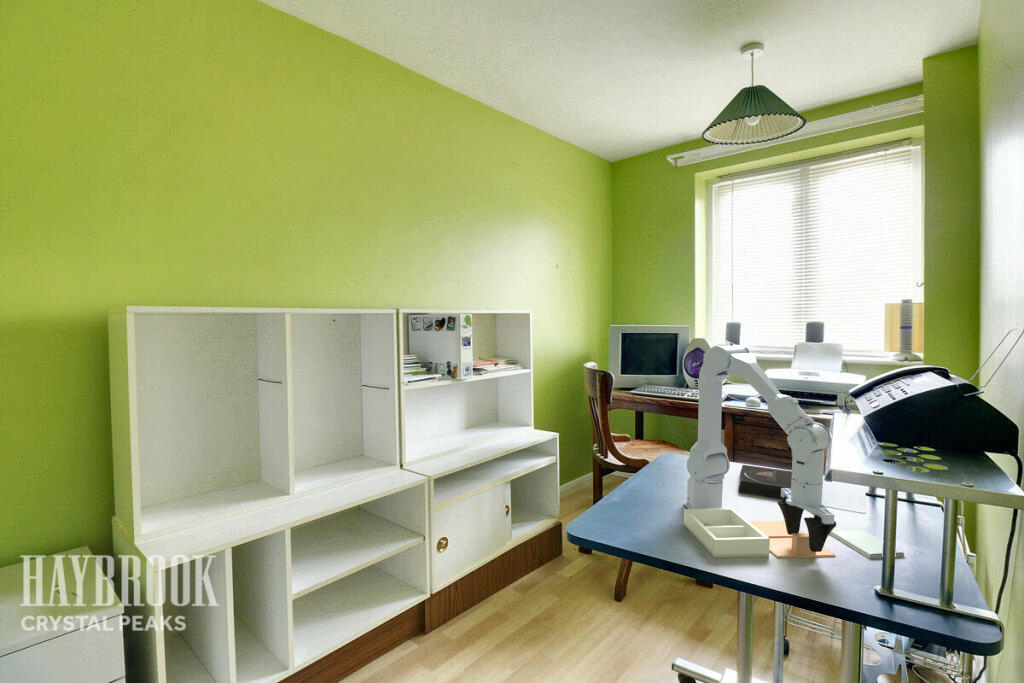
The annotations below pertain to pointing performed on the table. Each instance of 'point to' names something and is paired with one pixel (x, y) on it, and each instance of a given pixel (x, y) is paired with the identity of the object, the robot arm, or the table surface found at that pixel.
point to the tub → (726, 533)
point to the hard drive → (861, 541)
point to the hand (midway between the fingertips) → (803, 542)
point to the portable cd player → (764, 481)
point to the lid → (788, 541)
